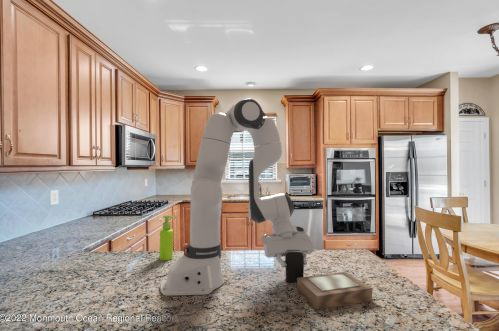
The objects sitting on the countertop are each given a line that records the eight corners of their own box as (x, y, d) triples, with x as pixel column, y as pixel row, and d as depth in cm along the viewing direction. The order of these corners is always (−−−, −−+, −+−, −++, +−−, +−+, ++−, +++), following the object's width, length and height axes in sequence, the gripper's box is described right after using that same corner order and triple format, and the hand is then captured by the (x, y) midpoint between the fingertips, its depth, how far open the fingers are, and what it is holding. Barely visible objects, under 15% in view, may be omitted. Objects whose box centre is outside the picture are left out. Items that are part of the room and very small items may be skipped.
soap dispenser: (170, 260, 110) (171, 217, 111) (156, 259, 112) (157, 216, 112) (176, 256, 116) (177, 215, 117) (163, 255, 117) (164, 214, 118)
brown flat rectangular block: (317, 309, 72) (317, 295, 72) (297, 289, 84) (297, 276, 84) (372, 300, 77) (372, 287, 77) (345, 282, 90) (345, 271, 90)
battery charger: (302, 278, 93) (302, 248, 93) (304, 283, 89) (304, 252, 89) (284, 278, 93) (284, 248, 94) (285, 282, 89) (285, 251, 90)
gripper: (262, 230, 96) (271, 264, 86) (308, 227, 101) (321, 259, 91) (258, 238, 100) (266, 272, 90) (303, 235, 105) (315, 266, 95)
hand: (294, 265), depth 91 cm, fingers closed on battery charger, 7 cm apart
